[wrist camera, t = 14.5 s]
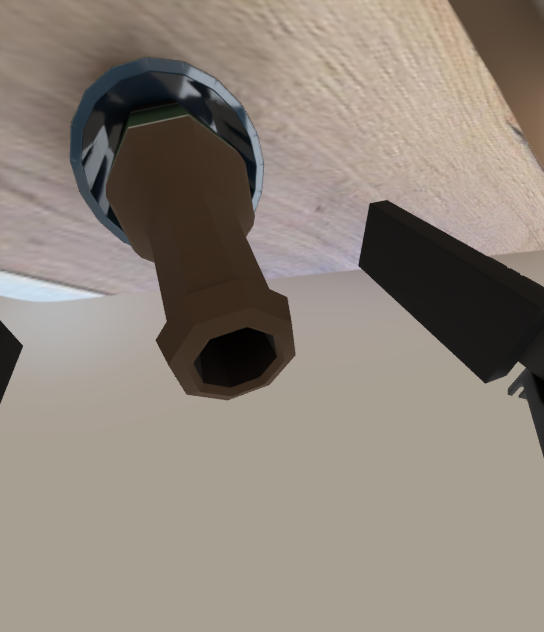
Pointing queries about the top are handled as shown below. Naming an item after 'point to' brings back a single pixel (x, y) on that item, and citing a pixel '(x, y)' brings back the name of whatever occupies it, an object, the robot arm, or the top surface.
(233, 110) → the metal cup
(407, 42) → the top surface
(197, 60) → the top surface
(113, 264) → the top surface
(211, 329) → the beer bottle
